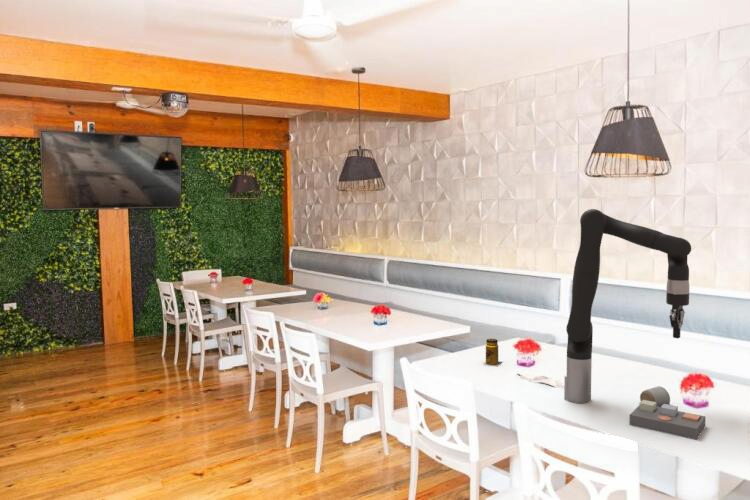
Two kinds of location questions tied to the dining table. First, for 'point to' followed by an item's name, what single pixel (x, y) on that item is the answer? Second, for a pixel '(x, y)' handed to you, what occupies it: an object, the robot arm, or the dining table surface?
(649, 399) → the ceramic mug
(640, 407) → the sage key
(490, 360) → the condiment
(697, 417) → the terracotta key
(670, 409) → the blue key
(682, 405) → the dining table surface
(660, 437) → the dining table surface
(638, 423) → the key panel
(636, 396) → the dining table surface
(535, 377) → the cloth
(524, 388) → the dining table surface
